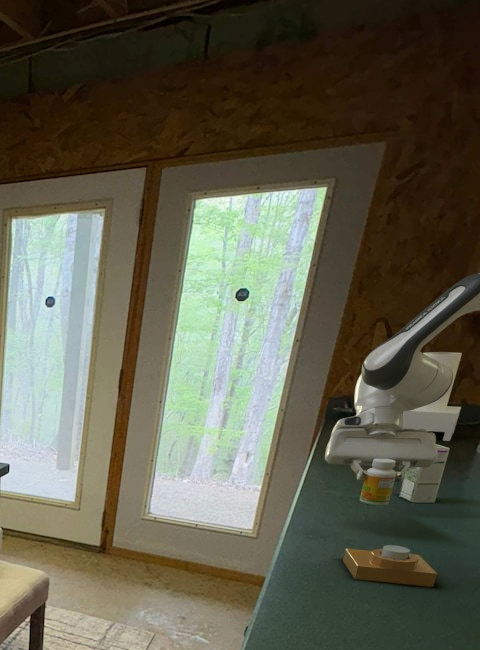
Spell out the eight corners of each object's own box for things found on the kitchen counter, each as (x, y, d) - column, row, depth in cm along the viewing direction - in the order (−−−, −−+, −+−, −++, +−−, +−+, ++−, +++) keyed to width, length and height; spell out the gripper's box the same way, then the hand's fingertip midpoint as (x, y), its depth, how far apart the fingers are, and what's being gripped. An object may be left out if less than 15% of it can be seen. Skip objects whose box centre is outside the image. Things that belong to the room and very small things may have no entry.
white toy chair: (453, 433, 241) (477, 351, 230) (449, 441, 228) (475, 355, 217) (392, 428, 253) (412, 351, 242) (385, 436, 240) (406, 354, 229)
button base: (414, 569, 123) (421, 546, 122) (433, 590, 115) (441, 565, 113) (342, 563, 128) (347, 540, 126) (354, 582, 119) (360, 557, 117)
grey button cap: (403, 554, 119) (406, 546, 118) (410, 562, 116) (413, 553, 115) (378, 552, 121) (380, 544, 120) (384, 559, 117) (386, 551, 117)
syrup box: (435, 503, 162) (452, 447, 157) (410, 502, 163) (425, 447, 158) (422, 497, 167) (437, 443, 162) (397, 496, 168) (411, 443, 163)
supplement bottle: (354, 498, 145) (364, 457, 141) (380, 499, 144) (391, 457, 140) (366, 505, 140) (377, 462, 137) (393, 505, 139) (405, 462, 135)
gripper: (428, 438, 143) (432, 489, 138) (322, 435, 151) (322, 484, 146) (441, 421, 138) (445, 474, 133) (330, 419, 145) (330, 469, 141)
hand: (380, 479), depth 139 cm, fingers closed on supplement bottle, 5 cm apart
